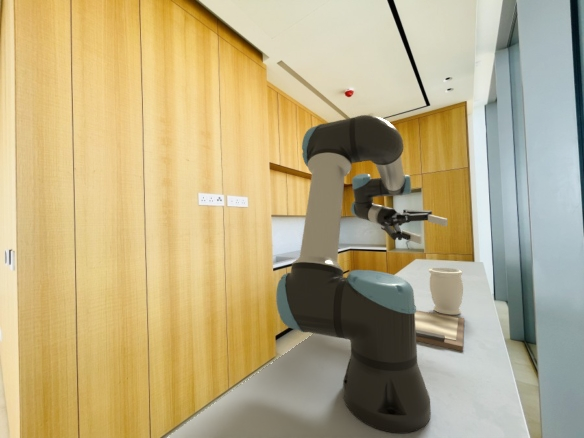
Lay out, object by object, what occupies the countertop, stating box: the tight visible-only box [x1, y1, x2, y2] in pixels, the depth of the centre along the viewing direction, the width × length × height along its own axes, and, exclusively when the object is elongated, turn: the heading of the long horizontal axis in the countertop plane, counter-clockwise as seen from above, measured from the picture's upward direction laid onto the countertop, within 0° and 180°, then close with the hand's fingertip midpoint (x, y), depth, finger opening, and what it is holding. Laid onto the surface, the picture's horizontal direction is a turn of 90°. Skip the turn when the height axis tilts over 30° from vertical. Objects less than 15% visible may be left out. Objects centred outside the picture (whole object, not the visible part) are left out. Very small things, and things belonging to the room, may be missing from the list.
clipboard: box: [415, 309, 465, 352], centre depth 76 cm, size 22×16×2 cm
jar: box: [428, 267, 464, 316], centre depth 90 cm, size 11×10×15 cm
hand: (434, 231), depth 81 cm, fingers open, 13 cm apart
